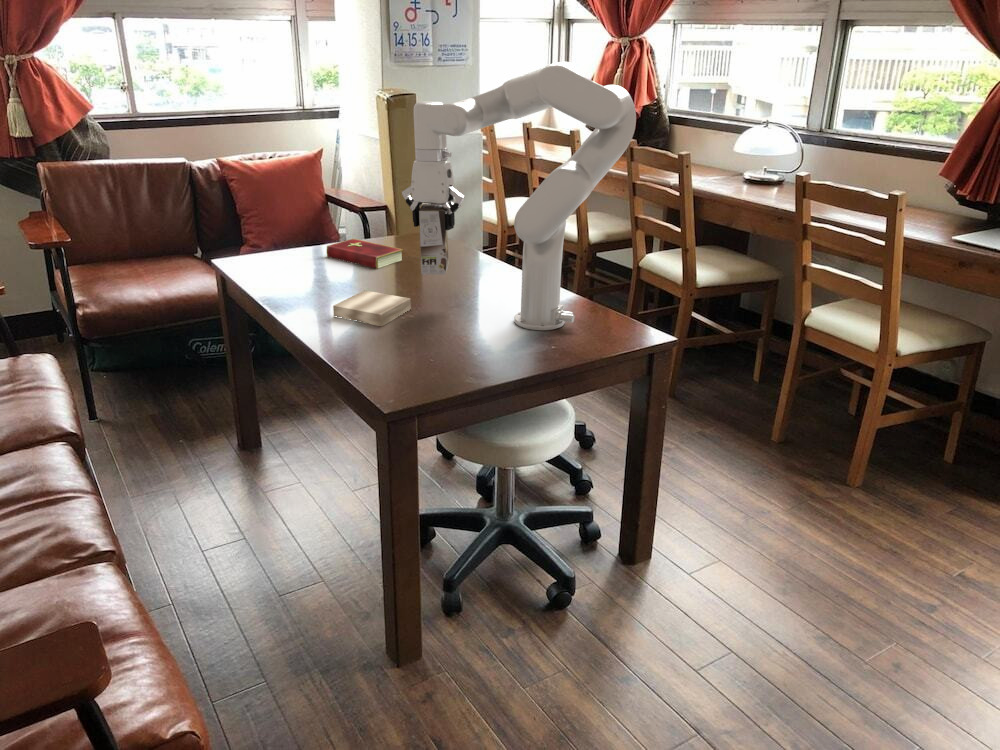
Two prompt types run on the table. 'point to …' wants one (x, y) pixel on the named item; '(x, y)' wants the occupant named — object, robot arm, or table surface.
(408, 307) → the birch base
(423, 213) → the coffee box
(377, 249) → the hardcover book
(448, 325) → the table surface
